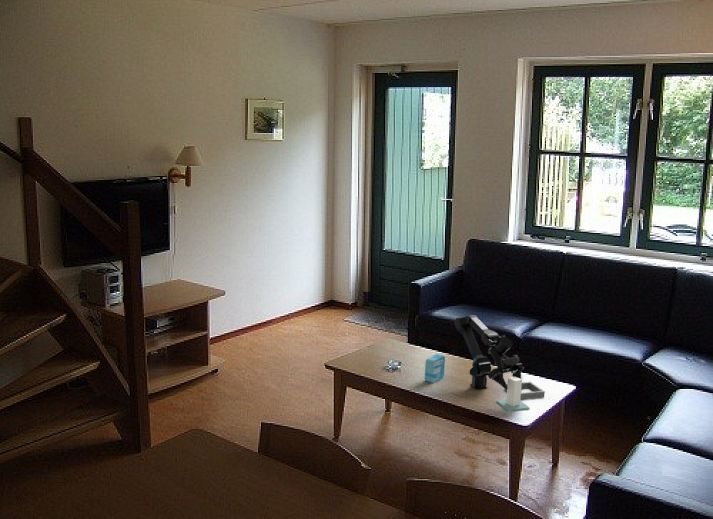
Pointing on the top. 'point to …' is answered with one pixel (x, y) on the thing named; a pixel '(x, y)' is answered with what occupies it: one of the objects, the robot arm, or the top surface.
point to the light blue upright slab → (434, 368)
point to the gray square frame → (537, 392)
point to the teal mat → (512, 408)
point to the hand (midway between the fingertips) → (514, 387)
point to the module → (514, 391)
